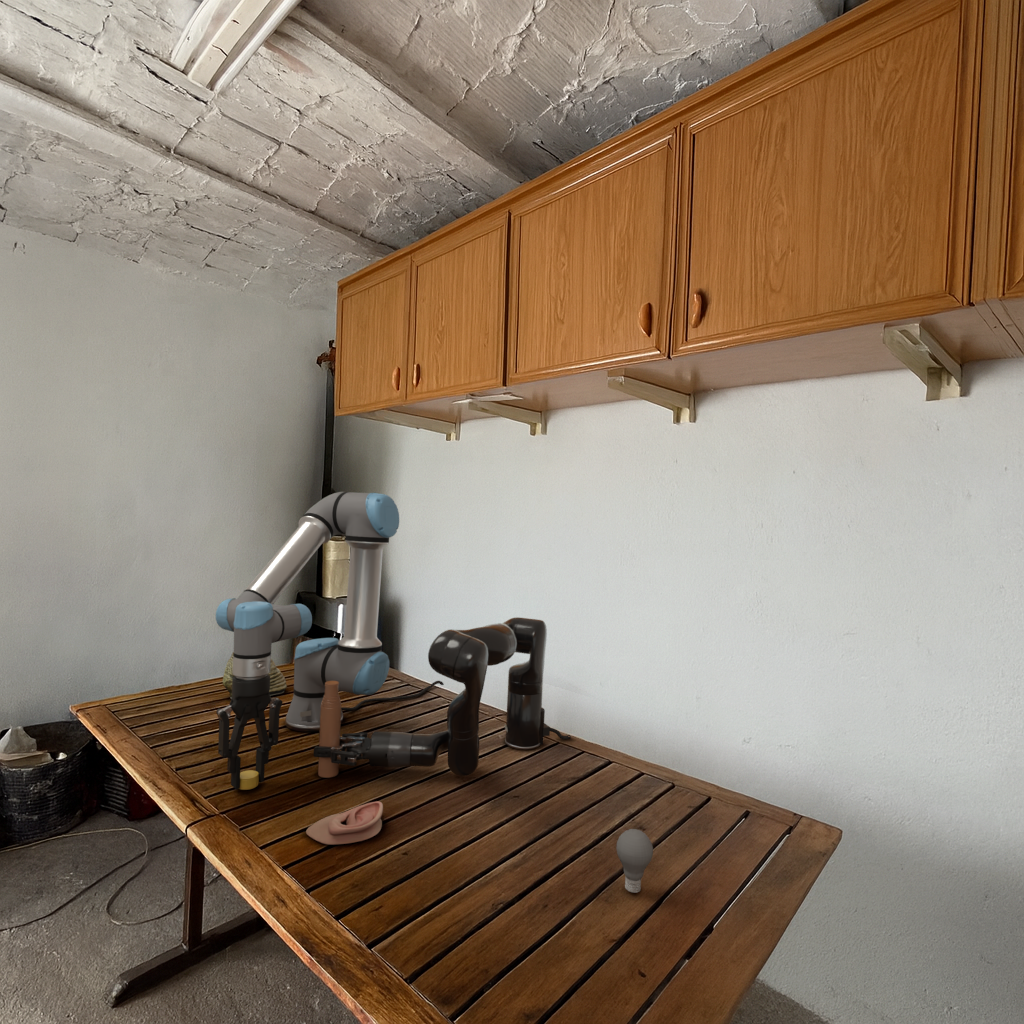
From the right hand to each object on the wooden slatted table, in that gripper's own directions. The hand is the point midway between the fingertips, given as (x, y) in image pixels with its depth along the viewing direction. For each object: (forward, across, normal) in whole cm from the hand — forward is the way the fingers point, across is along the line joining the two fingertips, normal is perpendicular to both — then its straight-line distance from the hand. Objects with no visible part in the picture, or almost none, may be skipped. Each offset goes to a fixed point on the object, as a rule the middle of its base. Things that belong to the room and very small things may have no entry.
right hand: (317, 747), depth 145 cm
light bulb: (-64, +42, +6) cm, 76 cm away
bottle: (-3, 0, +6) cm, 7 cm away
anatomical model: (-12, +25, +6) cm, 28 cm away
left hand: (+12, +8, +5) cm, 16 cm away
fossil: (+34, -54, +6) cm, 64 cm away
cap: (+12, +9, +3) cm, 15 cm away
